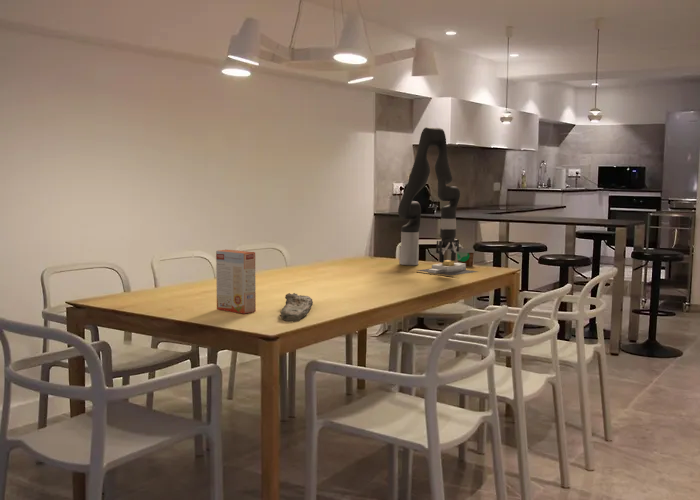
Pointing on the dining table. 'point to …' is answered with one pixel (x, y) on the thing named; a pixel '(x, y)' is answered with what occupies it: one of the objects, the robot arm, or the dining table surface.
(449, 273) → the mat
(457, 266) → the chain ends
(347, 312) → the dining table surface
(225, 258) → the cracker box
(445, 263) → the tan small block
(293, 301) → the elongated rock
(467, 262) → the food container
